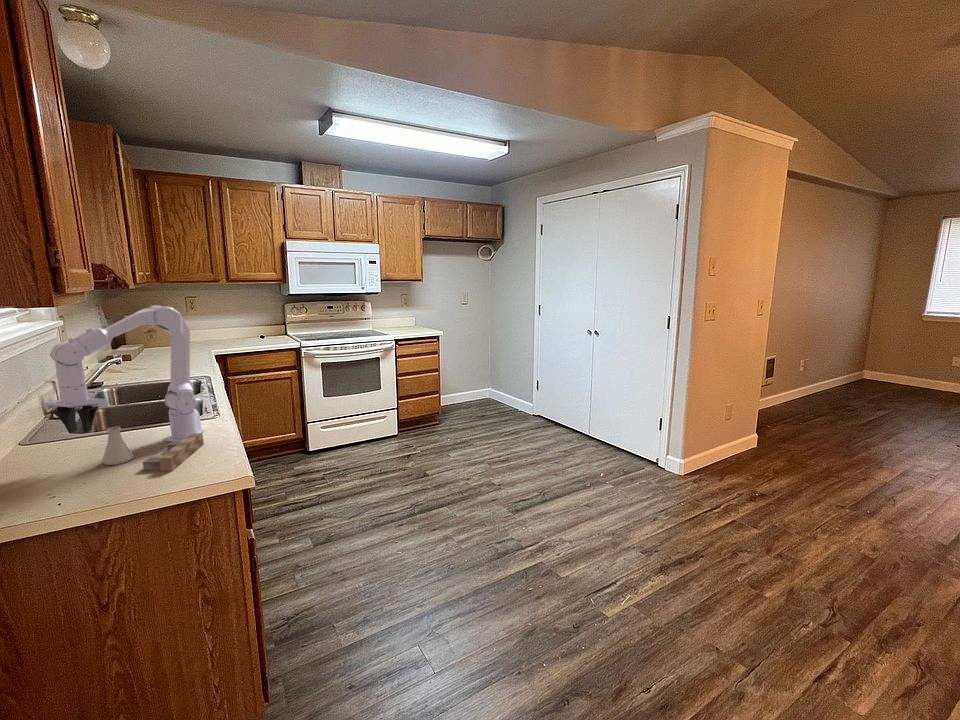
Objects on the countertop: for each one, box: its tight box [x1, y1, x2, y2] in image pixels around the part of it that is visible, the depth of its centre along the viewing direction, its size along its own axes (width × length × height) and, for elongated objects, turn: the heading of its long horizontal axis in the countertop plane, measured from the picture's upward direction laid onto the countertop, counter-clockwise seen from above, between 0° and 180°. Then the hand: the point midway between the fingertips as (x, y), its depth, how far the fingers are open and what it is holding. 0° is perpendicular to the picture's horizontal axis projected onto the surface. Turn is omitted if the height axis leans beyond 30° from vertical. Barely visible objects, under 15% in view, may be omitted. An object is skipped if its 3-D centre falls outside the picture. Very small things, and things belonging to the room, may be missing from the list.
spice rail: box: [142, 432, 205, 473], centre depth 133 cm, size 20×8×4 cm, turn 10°
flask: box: [101, 426, 135, 466], centre depth 129 cm, size 7×7×10 cm
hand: (80, 431), depth 127 cm, fingers open, 3 cm apart
